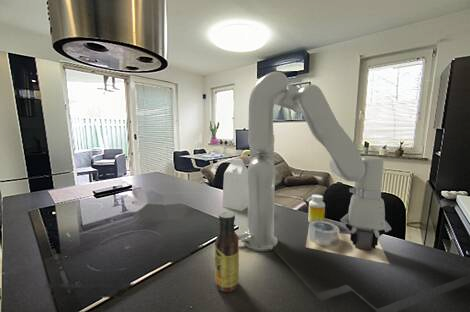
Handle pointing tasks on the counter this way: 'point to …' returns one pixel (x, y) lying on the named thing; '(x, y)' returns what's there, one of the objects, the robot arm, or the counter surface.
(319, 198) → the supplement bottle
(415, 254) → the counter surface
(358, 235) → the grey rounded canister
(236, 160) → the milk
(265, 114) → the robot arm
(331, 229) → the lens barrel
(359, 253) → the birch board
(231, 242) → the sauce bottle
